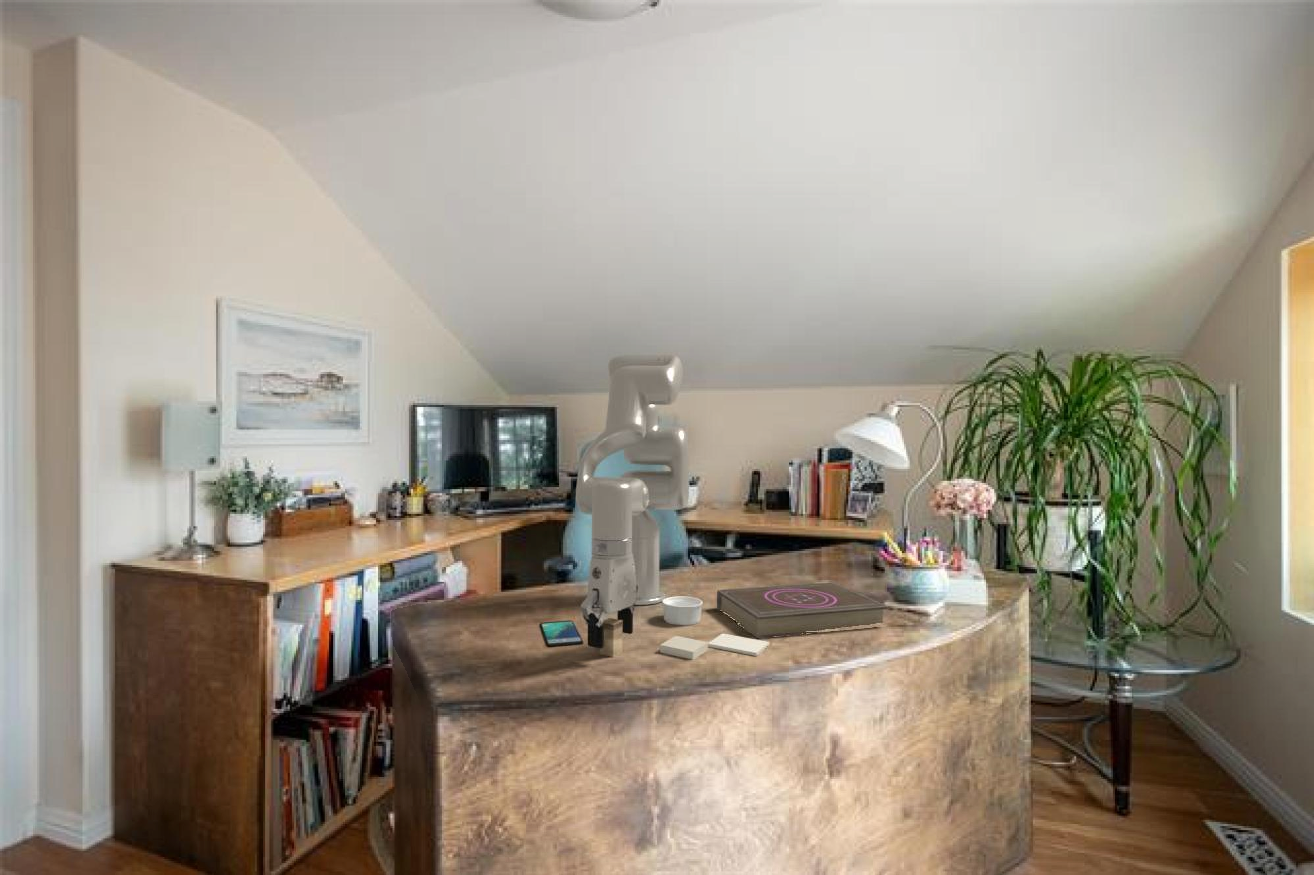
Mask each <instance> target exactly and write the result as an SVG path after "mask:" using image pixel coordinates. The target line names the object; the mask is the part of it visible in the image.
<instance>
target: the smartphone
mask: <svg viewBox="0 0 1314 875" xmlns="http://www.w3.org/2000/svg"><path fill="white" fill-rule="evenodd" d="M539 627H540V630H541V633H542V636H543V639H544V642H545V645H546V647H547V648H556V647H557V648H559V647H560V648H561V647H569V646H572V647H573V646H582V645H583V644H584V640H583V638H582V636H581V634H580V633H579V631H578V628H577V626H576V625H575V623H574V621H573V620H570V619H569V620H555V621H544V622H540V623H539Z"/></svg>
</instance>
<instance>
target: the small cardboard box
mask: <svg viewBox="0 0 1314 875" xmlns="http://www.w3.org/2000/svg"><path fill="white" fill-rule="evenodd" d="M602 625H603V626H604V647H603V648H601V649H600V648H599V655H602V656H607V657H612V658H614V657H616V656H618V655H619V654H621V653H623V633H622V626H623V621H622V620H618V619H617V618H613V617H612V618H611V617H608V618H605V619H604V620H603V622H602Z"/></svg>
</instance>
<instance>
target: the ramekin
mask: <svg viewBox="0 0 1314 875" xmlns="http://www.w3.org/2000/svg"><path fill="white" fill-rule="evenodd" d="M661 604H662V606H663V607H662V608H663V620H664V621H665V622H666V623H667V624H670V625H672V626H673V625H674V626H692V625H696V624H698V623H700V621H701V618H702V617H701V616H702V608H703V607H702V606H703V604H704V602H703V600H701V599H699V598H696V597H693V596H684V595H683V596H682V595H680V596H671V597H670V596H669V597H665V599H664V600H663V601H661Z"/></svg>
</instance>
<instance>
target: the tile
mask: <svg viewBox="0 0 1314 875" xmlns="http://www.w3.org/2000/svg"><path fill="white" fill-rule="evenodd" d="M708 643H709V642H708V641H703V640H699V639H694V638H693V639H692V638H689V637H683V636H681V635H680V636H678V635H675V636H672V637H671V638H670V639H668V640H666V641H664V642H663V643H662V642H661V644H660V645H659V653H660V654H661V653H662V654H665V655H671V656H674V657H675V656H676V657H679V658H684V659H688V660H691V661H694V660H695V659H697V658H699V656H701V655H702V654H704V653H705V652H707V651H708V650H709V647H708Z"/></svg>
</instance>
